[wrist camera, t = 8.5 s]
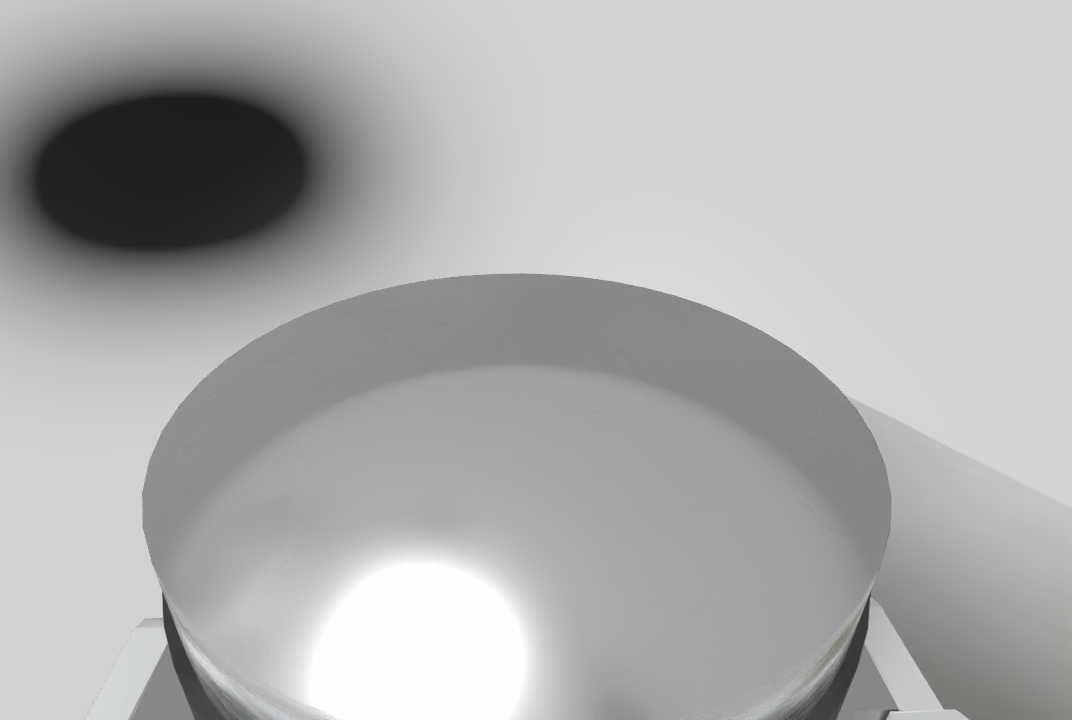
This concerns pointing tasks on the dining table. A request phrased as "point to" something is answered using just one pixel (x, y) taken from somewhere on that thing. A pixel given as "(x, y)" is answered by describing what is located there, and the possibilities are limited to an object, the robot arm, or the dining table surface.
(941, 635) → the dining table surface
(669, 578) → the dark grey metallic cylinder
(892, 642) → the robot arm
